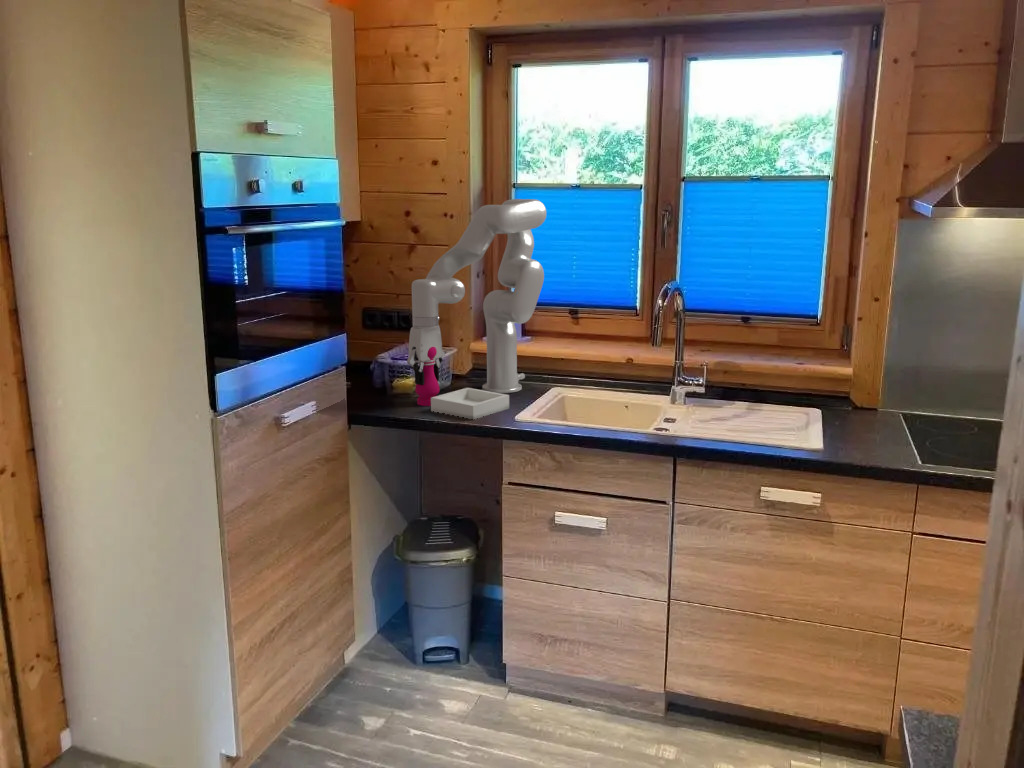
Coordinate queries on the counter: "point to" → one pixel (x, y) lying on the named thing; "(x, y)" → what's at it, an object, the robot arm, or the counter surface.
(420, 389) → the pepper mill
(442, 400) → the tray
